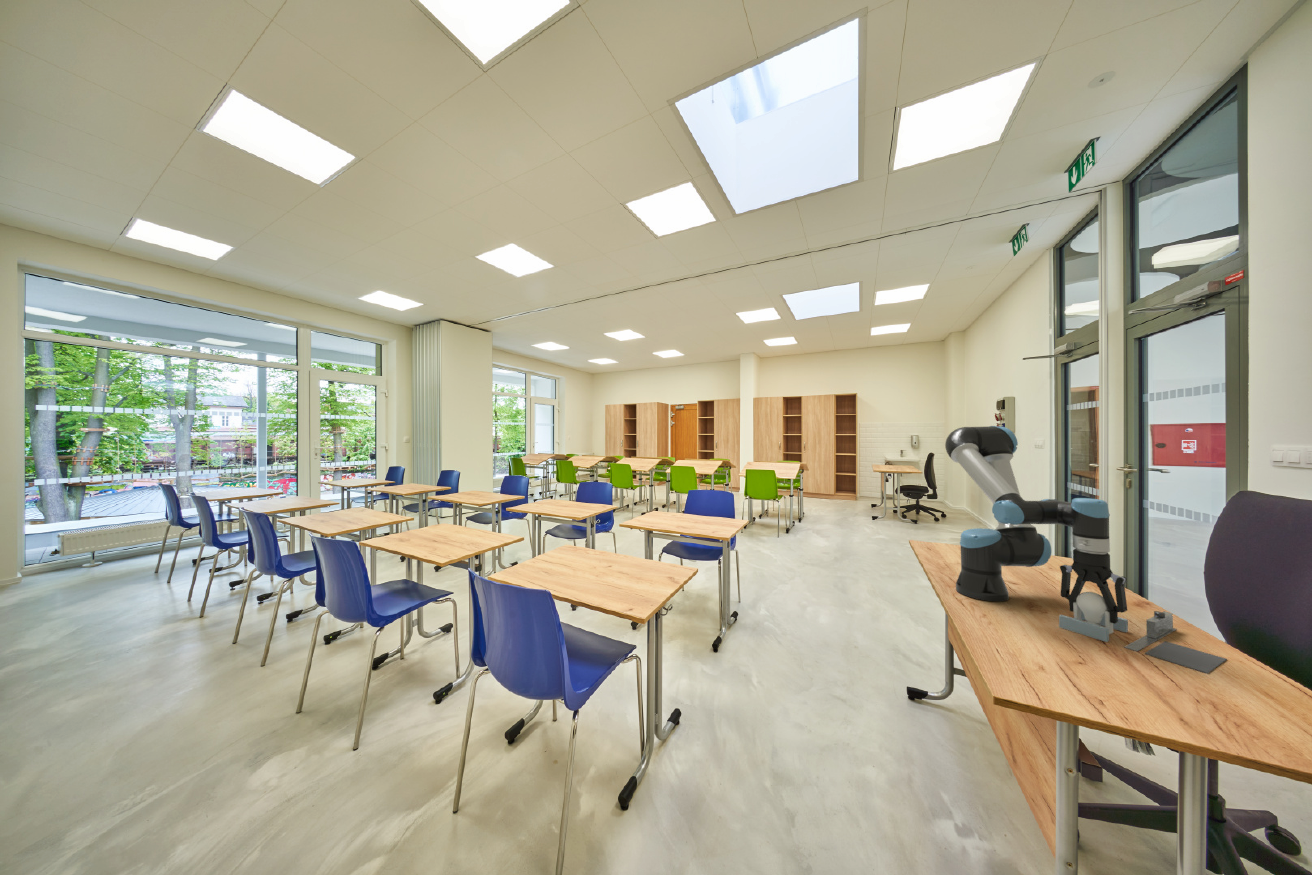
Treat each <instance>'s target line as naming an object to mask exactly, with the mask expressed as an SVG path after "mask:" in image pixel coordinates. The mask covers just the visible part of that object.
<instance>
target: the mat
mask: <svg viewBox="0 0 1312 875" xmlns="http://www.w3.org/2000/svg"><path fill="white" fill-rule="evenodd" d="M1144 655H1146V656H1149V657H1153V658H1156V659H1159V660H1162V661H1164V662H1169V663H1172V664H1175V665H1179V666H1182V667H1185V668H1187V667H1188V668H1189V669H1191V670H1194V671H1198V672H1200V673H1203V674H1207V675H1208V674H1210V673H1211V672H1212V671H1214V670H1215V669H1216V667H1217V668H1218V667H1219V666H1220V665H1222V664H1223V663H1225V662H1226V661H1227V660H1228V659H1227V658H1225V657H1222V656H1218V655H1216V654H1211V653H1208V652H1206V651H1205V652H1204V651H1201V650H1197V649H1194V648H1191V647H1188V646H1184V645H1179V644H1177V643H1173V642H1169V641H1163V642H1162V643H1159V644H1158V645H1156V646H1155V647H1152V648H1151V649H1149V650H1147V651H1146V652H1144ZM1210 671H1211V672H1210ZM1209 672H1210V673H1209Z"/></svg>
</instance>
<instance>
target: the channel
mask: <svg viewBox="0 0 1312 875" xmlns="http://www.w3.org/2000/svg"><path fill="white" fill-rule="evenodd" d="M1128 622H1129V620H1128V619H1127V618H1124V617H1119V616H1118V622H1117V623H1115V624H1114V623H1113V630H1114V631H1115V630H1117V631H1118V632H1119V631H1120V632H1122V633H1128V632H1129V626H1128V625H1129V623H1128ZM1058 627H1059V628H1061V629H1063V630H1067V631H1069V632H1073V633H1077V634H1080V635H1083V636H1086V637H1088V638H1092V639H1096V640H1099V641H1102V642H1106V643H1107V642H1110V634H1109V628H1105V615H1104V616H1103V617H1102V620H1101V623H1100V626H1098V625H1095V624H1092V623H1088V622H1086V619H1085V617H1084V614H1083V612H1082V610H1081V620H1078V619H1075V618H1074V617H1071V616H1067V615H1063V614H1059V615H1058Z"/></svg>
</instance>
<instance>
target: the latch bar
mask: <svg viewBox="0 0 1312 875" xmlns="http://www.w3.org/2000/svg"><path fill="white" fill-rule="evenodd" d="M1173 614H1174V613H1172V612H1168V611H1166V610H1165V611H1157V610H1154V611H1153V616H1151V617H1150V618H1148V619H1146V621H1145V622H1146V623H1145V624H1146V635H1147V636H1148V637H1151V638H1155V639H1156V638H1158V637H1159V636H1161V635H1163V634H1165V633H1167V632H1168V631H1170V630H1172V629H1173V628H1174V618H1173V616H1172V615H1173Z"/></svg>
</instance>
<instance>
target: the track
mask: <svg viewBox="0 0 1312 875" xmlns="http://www.w3.org/2000/svg"><path fill="white" fill-rule="evenodd" d="M1175 631H1178V630H1177V628H1174V627H1173V629H1172V630H1170V631H1168V632H1167V633H1165V634H1163V635H1161V636H1159V637H1158V638H1156V639H1155V638H1151V637H1148V636H1147V634H1145V635H1144V636H1142V637H1140V638H1138V639H1136V640H1134V641H1132V642H1130V643H1129V644H1127V645H1124V646H1123V648H1124V649H1126V650H1131V651H1134V652H1137V653H1138V652H1139V651H1142V650H1143V649H1145V648H1146V647H1148V646H1150V645H1152V644H1154V643H1156V642H1157V641H1159V640H1160V639H1162V638H1164V637H1166V636H1168V635H1169V634H1172V633H1173V632H1175Z"/></svg>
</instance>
